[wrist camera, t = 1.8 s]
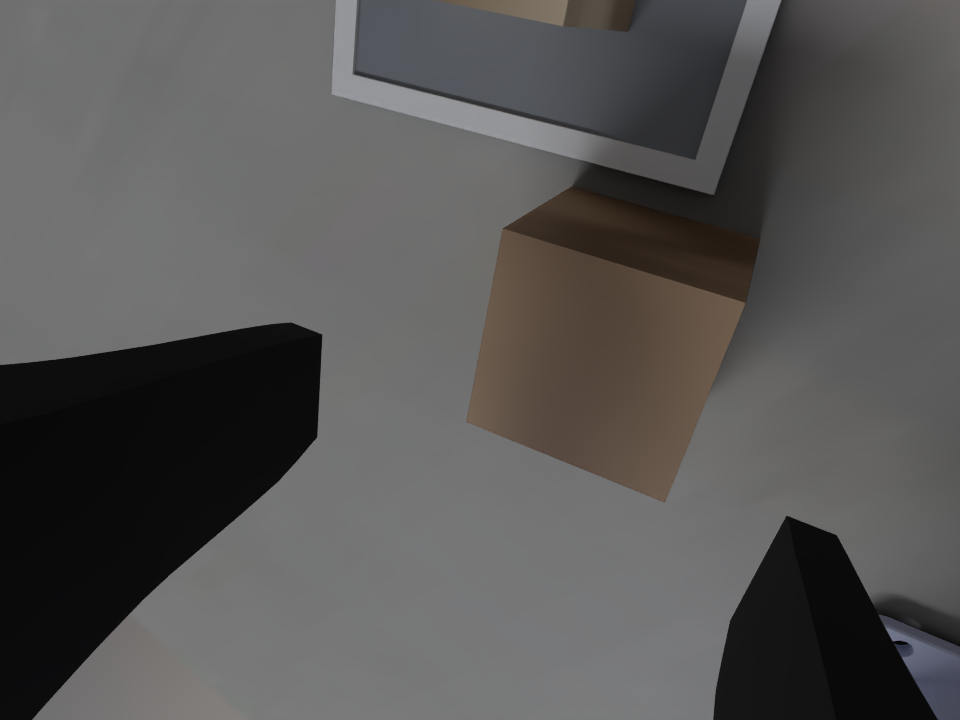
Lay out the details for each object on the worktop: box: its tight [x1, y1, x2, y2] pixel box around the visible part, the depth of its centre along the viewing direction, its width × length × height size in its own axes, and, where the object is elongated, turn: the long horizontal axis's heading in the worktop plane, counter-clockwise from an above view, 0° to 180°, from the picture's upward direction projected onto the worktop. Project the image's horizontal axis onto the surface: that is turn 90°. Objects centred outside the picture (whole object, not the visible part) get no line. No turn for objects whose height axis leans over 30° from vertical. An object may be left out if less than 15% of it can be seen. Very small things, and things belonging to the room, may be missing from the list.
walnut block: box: [466, 187, 760, 502], centre depth 15 cm, size 4×4×4 cm
